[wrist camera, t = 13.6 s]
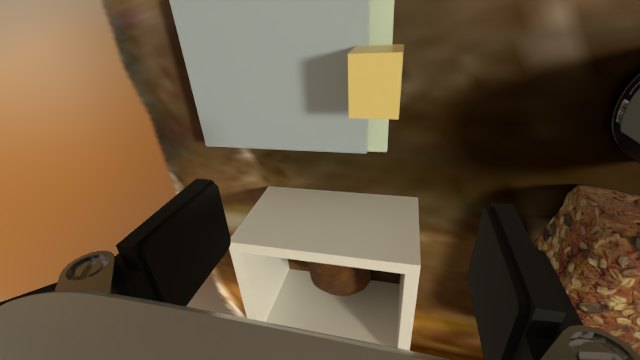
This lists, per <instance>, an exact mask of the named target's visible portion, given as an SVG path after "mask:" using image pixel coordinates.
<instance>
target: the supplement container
mask: <svg viewBox="0 0 640 360" xmlns="http://www.w3.org/2000/svg"><path fill="white" fill-rule="evenodd" d="M607 128H608V132H609V135H610V137H611V139H612V141H613V142H614V144H615V145H616V146H617V148H618V149H620V150H621V151H622V152H623V153H624V154H626V155H627V156H629V157H630V158H632V159H634V160H636V161H637V162H638V163H640V66H639V67H637V68H636V69H635V70H634V71H633V72H632V73H631V74H630V75H629V76H628V77H627V78H626V79H625V80H624V81H623V83H622V84H621V85H620V87H619V88H618V89H617V91H616V93H615V94H614V96H613V98H612V100H611V103H610V106H609V109H608V114H607Z"/></svg>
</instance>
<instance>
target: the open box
mask: <svg viewBox="0 0 640 360" xmlns="http://www.w3.org/2000/svg"><path fill="white" fill-rule="evenodd" d="M229 250H230V254H231V258H232V261H233V265H234V269H235V273H236V277H237V281H238V285H239V288H240V292H241V296H242V300H243V304H244V308H245V312H246V315H247V318H248V319H254V320H259V321H264V322H269V323H274V324H279V325H284V326H290V327H295V328H300V329H305V330H310V331H315V332H320V333H325V334H330V335H335V336H340V337H345V338H350V339H355V340H360V341H365V342H370V343H375V344H380V345H385V346H390V347H395V348H400V349H405V350H409V351H410V344H411V337H412V329H413V321H414V313H415V305H416V298H417V290H418V282H419V274H420V266H421V264H420V239H419V214H418V197H404V196H391V195H378V194H365V193H351V192H338V191H325V190H312V189H299V188H285V187H272V186H268V188H267V189H266V191H265V192H264V193H263V195H262V196H261V197H260V199H259V200H258V201H257V203H256V204H255V205H254V207H253V208H252V209H251V211H250V212H249V213H248V215H247V216H246V218H245V219H244V220H243V222H242V223H241V224H240V226H239V227H238V228H237V230H236V231H235V232H234V234H233V235H232V236H231V244H230V247H229ZM288 259H294V260H301V261H309V262H317V263H324V264H332V265H340V266H347V267H355V268H362V269H370V270H378V271H385V272H393V273H400V283H399V284H396V283H389V282H382V281H374V280H370V283H369V284H368V285H367V286H366V287H365V289H364V290H362V291H360V292H357V293H355V294H352V295H349V296H336V295H332V294H329V293H327V292H325V291H322V290H320V289H319V288H317V287H316V286H315V285H314V283H313V282H312V280H311V276H310V271H302V270H295V269H289V263H288Z"/></svg>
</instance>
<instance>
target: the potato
mask: <svg viewBox="0 0 640 360" xmlns="http://www.w3.org/2000/svg"><path fill="white" fill-rule="evenodd" d="M306 263H307V265H308V268H309V271H310V276H311V280H312V282H313V283H314V285H315V286H316V287H317V288H319V289H320V290H322V291H325V292H327V293H329V294H332V295H336V296H349V295H352V294H355V293H357V292H360V291H362V290H364V289H365V287H366V286H367V285H368V284H369V283H370V280H371V270H370V269H362V268H355V267H347V266H340V265H332V264H324V263H317V262H309V261H306Z"/></svg>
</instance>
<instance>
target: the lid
mask: <svg viewBox="0 0 640 360" xmlns="http://www.w3.org/2000/svg"><path fill="white" fill-rule="evenodd" d="M169 1H170V5H171V9H172V13H173V17H174V21H175V25H176V29H177V33H178V37H179V41H180V45H181V49H182V53H183V57H184V60H185V64H186V68H187V72H188V76H189V80H190V84H191V88H192V92H193V96H194V100H195V104H196V108H197V112H198V116H199V120H200V124H201V128H202V132H203V136H204V140H205V143H206V146H215V147H236V148H258V149H279V150H301V151H322V152H344V153H365V154H366V153H367V150H368V119H399V109H400V96H401V81H402V65H403V50H404V44H397V45H369V34H370V0H169Z"/></svg>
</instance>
